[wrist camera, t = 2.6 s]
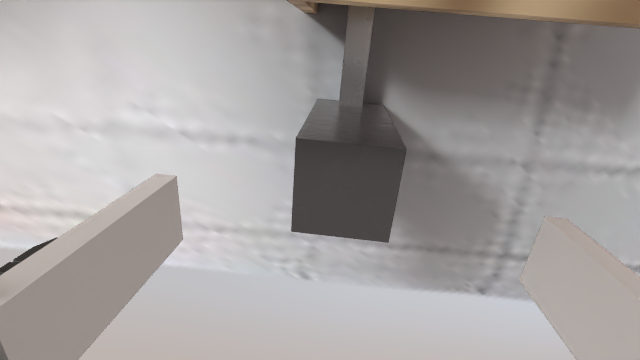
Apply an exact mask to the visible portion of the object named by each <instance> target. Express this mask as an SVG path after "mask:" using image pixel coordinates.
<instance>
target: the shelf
mask: <svg viewBox="0 0 640 360" xmlns="http://www.w3.org/2000/svg"><path fill="white" fill-rule="evenodd" d="M287 1H288V2H290V3H291V4H293V5H294V6H296V7H297V8H299V9H300V10H302V11H303V12H305V13H316V14H317V10H318V3H328V4H341V5H353V6H366V7H378V8H391V9H403V10H415V11H428V12H440V13H453V14H465V15H478V16H490V17H503V18H515V19H528V20H540V21H553V22H565V23H578V24H590V25H603V26H615V27H628V28H640V0H287Z"/></svg>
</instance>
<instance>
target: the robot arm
mask: <svg viewBox="0 0 640 360" xmlns="http://www.w3.org/2000/svg"><path fill="white" fill-rule="evenodd" d="M182 240H183V235H182V225H181V215H180V205H179V196H178V186H177V176H172V175H163V174H155V175H154V176H152V177H151V178H149V179H148V180H146V181H144V182H143V183H141V184H140V185H138V186H137V187H135V188H134V189H132V190H131V191H129V192H128V193H126V194H125V195H123V196H121V197H120V198H118V199H117V200H115V201H114V202H112V203H111V204H109V205H108V206H106V207H105V208H103V209H102V210H100V211H98V212H97V213H95V214H94V215H92V216H91V217H89V218H88V219H86V220H85V221H83V222H82V223H80V224H79V225H77V226H75V227H74V228H72V229H71V230H69V231H68V232H66V233H65V234H63V235H62V236H60V237H59V238H54V239H52V240H49V241H47V242H45V243H42V244H40V245H37V246H35V247H33V248H31V249H29V250H28V251H26V252H25V253H23V254H22V255H20V256H18V257H17V258H15V259H14V261H13V262H9V263H7V264H6V265H4V266H3V267H1V268H0V360H78V359H79V358H80V357H81V356H82V355H83V354H84V352H85V351H86V350H87V349H88V348H89V347H90V346H91V344H92V343H93V342H94V341H95V340H96V338H97V337H98V336H99V335H100V334H101V333H102V332H103V331H104V329H105V328H106V327H107V326H108V325H109V324H110V322H111V321H112V320H113V319H114V318H115V317H116V316H117V315H118V313H119V312H120V311H121V310H122V309H123V308H124V307H125V305H126V304H127V303H128V302H129V301H130V300H131V299H132V297H133V296H134V295H135V294H136V293H137V292H138V290H139V289H140V288H141V287H142V286H143V285H144V284H145V283H146V281H147V280H148V279H149V278H150V277H151V275H152V274H153V273H154V272H155V271H156V270H157V269H158V268H159V266H160V265H161V264H162V263H163V262H164V261H165V260H166V258H167V257H168V256H169V255H170V254H171V253H172V252H173V250H174V249H175V248H176V247H177V246H178V245H179V244H180V242H181V241H182ZM519 281H520V282H521V283H522V285H523V286H524V288H525V289H526V290H527V292H528V293H529V294H530V296H531V297H532V299H533V300H534V301H535V303H536V304H537V306H538V307H539V308H540V310H541V311H542V313H543V314H544V315H545V317H546V318H547V320H548V321H549V322H550V324H551V325H552V326H553V328H554V329H555V331H556V332H557V334H558V335H559V336H560V338H561V339H562V340H563V342H564V343H565V345H566V346H567V347H568V349H569V350H570V352H571V353H572V354H573V355H574V357H575V359H576V360H640V277H639V276H638V275H637V274H636V273H634V272H633V271H632V270H631V269H629V268H628V267H627V266H626V265H624V264H623V263H622V262H621V261H619V260H618V259H617V258H616V257H614V256H613V255H612V254H611V253H609V252H608V251H607V250H606V249H604V248H603V247H602V246H601V245H599V244H598V243H597V242H596V241H594V240H593V239H592V238H591V237H589V236H588V235H587V234H586V233H584V232H583V231H582V230H581V229H579V228H578V227H577V226H576V225H574V224H573V223H572V222H571V221H569V220H568V219H563V218H553V217H544V219H543V222H542V224H541V227H540V229H539V232H538V234H537V237H536V239H535V242H534V244H533V247H532V249H531V252H530V254H529V257H528V259H527V262H526V264H525V267H524V269H523V272H522V274H521V277H520V279H519Z"/></svg>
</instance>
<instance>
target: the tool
mask: <svg viewBox="0 0 640 360" xmlns="http://www.w3.org/2000/svg"><path fill="white" fill-rule="evenodd" d="M374 11H375V7H366V6H353V5H349V10H348V20H347V29H346V39H345V49H344V59H343V69H342V79H341V89H340V99H339V101H336V100H325V99H318V100H317V102H316V103H315V105H314V107H313V109H312V111H311V112H310V114H309V116H308V118H307V119H306V121H305V123H304V125H303V126H302V128H301V130H300V132H299V134H298V135H297V137H296V148H295V168H294V188H293V208H292V228H291V231H292V232H300V233H309V234H318V235H327V236H336V237H344V238H353V239H362V240H371V241H379V242H389V237H390V232H391V227H392V221H393V216H394V211H395V206H396V201H397V196H398V190H399V185H400V180H401V175H402V170H403V165H404V160H405V154H406V147H405V145H404V143H403V141H402V140H401V138H400V136H399V134H398V132H397V130H396V128H395V126H394V125H393V123H392V121H391V119H390V117H389V115H388V113H387V111H386V109H385V108H384V106H383V105H378V104H368V103H363V96H364V89H365V81H366V73H367V65H368V58H369V50H370V42H371V35H372V27H373V19H374Z"/></svg>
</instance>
